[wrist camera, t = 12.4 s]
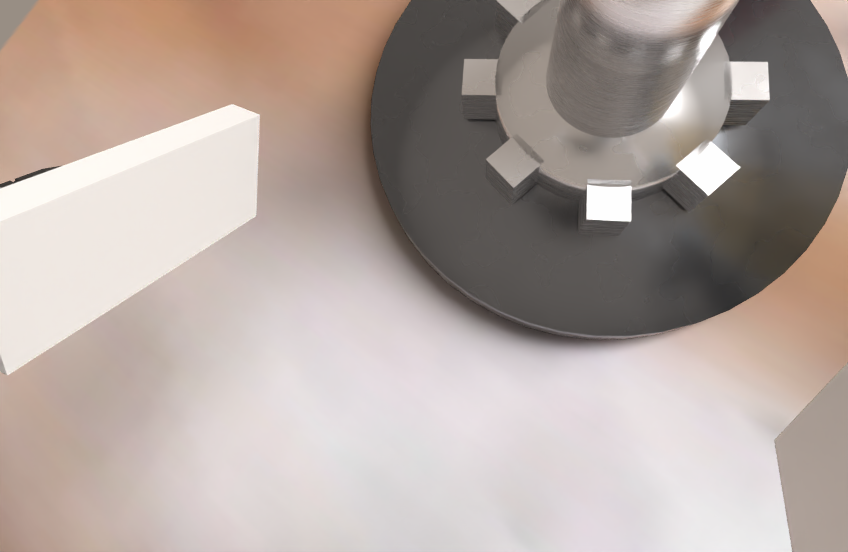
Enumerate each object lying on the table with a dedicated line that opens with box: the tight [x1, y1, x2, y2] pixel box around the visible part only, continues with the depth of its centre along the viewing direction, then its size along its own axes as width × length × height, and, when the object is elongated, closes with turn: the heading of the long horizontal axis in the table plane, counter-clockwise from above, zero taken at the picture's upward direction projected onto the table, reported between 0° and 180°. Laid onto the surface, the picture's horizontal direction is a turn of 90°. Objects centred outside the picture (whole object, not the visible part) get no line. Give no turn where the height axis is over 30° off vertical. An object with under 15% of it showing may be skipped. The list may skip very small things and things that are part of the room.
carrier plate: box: [371, 0, 848, 339], centre depth 24 cm, size 20×20×2 cm
